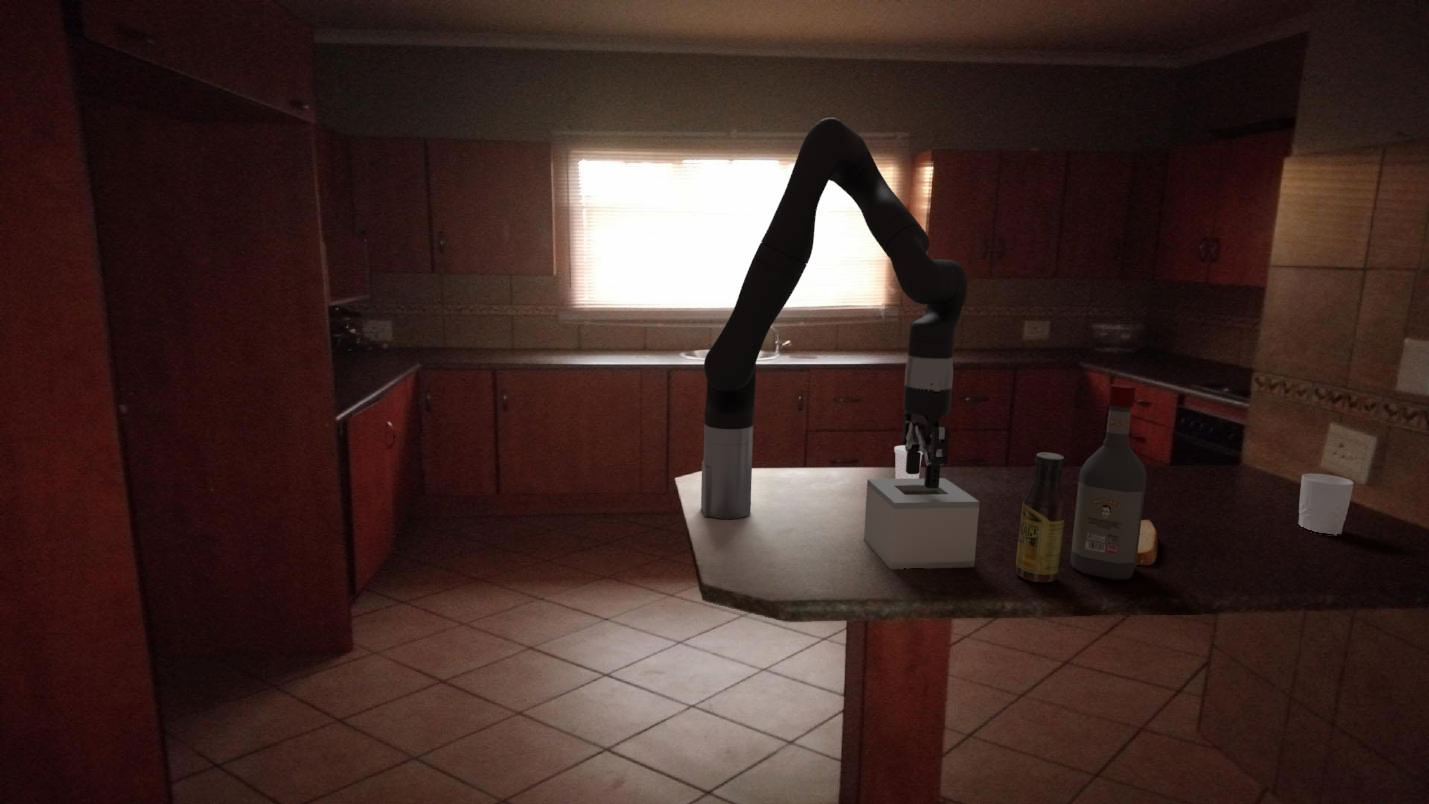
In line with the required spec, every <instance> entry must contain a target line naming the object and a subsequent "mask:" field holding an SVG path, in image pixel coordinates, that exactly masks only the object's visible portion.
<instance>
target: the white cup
mask: <svg viewBox="0 0 1429 804" xmlns="http://www.w3.org/2000/svg"><path fill="white" fill-rule="evenodd" d="M1353 489H1354V481H1352V480H1351V479H1348V478H1346V477H1345V478H1344V477H1341V476H1336V475H1332V474H1325V473H1324V474H1323V473H1304V474H1302V475H1301V483H1300V491H1299V493H1300V494H1299V503H1298V508H1299V509H1298V514H1299V515H1298V524H1299V525H1300V526H1301V527H1304V528H1306V529H1308V530H1312V531H1314V532H1319V533H1327V534H1334V535H1333V536H1338V535H1337V534H1340V535H1342V532H1343V528H1344V527H1343V526H1344V523H1345V521H1346V519H1347V517H1346V516H1347V515H1348V510H1349V509H1348V508H1349V506H1350V504H1351V503H1350V501H1351V497H1352V493H1353Z"/></svg>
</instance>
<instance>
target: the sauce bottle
mask: <svg viewBox="0 0 1429 804" xmlns="http://www.w3.org/2000/svg"><path fill="white" fill-rule="evenodd" d="M1034 464H1035V470H1034V477H1033V482H1032V483H1031V485H1030V487H1029V490H1028V492H1027V493H1026V495H1025V497H1024V499H1023V502H1022V507H1021V515H1020V523H1019V533H1018V541H1017V549H1016V550H1017V551H1016V558H1015V564H1016V566H1015V567H1016V575H1018V577H1020V578H1022V579H1024V580H1025V581H1028V582H1031V583H1039V584H1044V583H1048V584H1049V583H1053V582H1054V581H1056V580H1057V573H1058V571H1059V565H1060V556H1061V550H1062V543H1063V542H1062V541H1063V533H1064V525H1065V519H1066V518H1065V511H1066V504H1067V501H1066V498H1065V494H1064V493H1063V491H1062V489H1061V476H1062V469H1063V467H1064V465H1065V457H1064V456H1063V455H1061V454H1059V453H1053V452H1044V451H1042V452H1038V453H1036V455H1035V459H1034Z"/></svg>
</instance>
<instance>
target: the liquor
mask: <svg viewBox="0 0 1429 804" xmlns="http://www.w3.org/2000/svg"><path fill="white" fill-rule="evenodd" d="M1108 389H1109V390H1108V397H1107V398H1108V399H1107V405H1108V406H1109V408H1108V409H1109V410H1108V417H1107V424H1106V431H1105V433H1106V434H1105V439H1104V440H1103V441H1102V442H1103V445H1101V446H1100V447H1099V448H1098V449H1097V450H1096V451H1095V452H1094V453H1093V454H1091V456H1089V457H1088V458H1087V459H1086V461H1085V462H1084V463H1083V464H1082V466H1081V468H1080V470H1079V474H1078V483H1077V484H1078V485H1077V492H1076V493H1077V495H1076V502H1075V503H1076V504H1075V511H1074V512H1075V513H1074V522H1073V532H1072V542H1071V543H1072V544H1071V552H1070V562H1069V563H1070V564H1071V567H1072V568H1073V569H1074V570H1076V571H1078V572H1080V573H1082V574H1085V575H1089V576H1095V577H1098V578H1099V577H1100V578H1105V579H1110V580H1113V581H1118V580H1119V581H1120V580H1130V579H1131V577H1132V576H1133V574H1134V572H1135V569H1136V567H1137V565H1136V562H1137V553H1138V545H1139V536H1140V528H1141V520H1143V519H1142V518H1143V517H1142V516H1143V510H1144V503H1145V502H1144V499H1145V492H1146V484H1147V483H1146V482H1147V476H1148V474H1147V470H1146V467H1145V465H1144V464H1143V463H1142V461H1141V460H1140V459H1139V458H1138V456H1137V455H1136V454H1135V452H1134V451H1133V450H1132V448H1131V447H1130V440H1129V432H1130V423H1131V422H1130V421H1131V414H1132V408H1133V407H1134V406H1135V397H1136V395H1135V394H1136V386H1134V385H1130V384H1123V383H1121V384H1119V383H1117V384H1116V383H1115V384H1109V388H1108Z"/></svg>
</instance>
